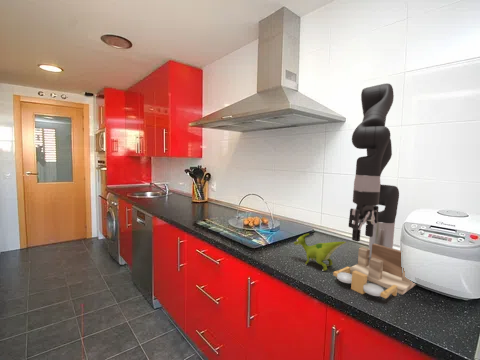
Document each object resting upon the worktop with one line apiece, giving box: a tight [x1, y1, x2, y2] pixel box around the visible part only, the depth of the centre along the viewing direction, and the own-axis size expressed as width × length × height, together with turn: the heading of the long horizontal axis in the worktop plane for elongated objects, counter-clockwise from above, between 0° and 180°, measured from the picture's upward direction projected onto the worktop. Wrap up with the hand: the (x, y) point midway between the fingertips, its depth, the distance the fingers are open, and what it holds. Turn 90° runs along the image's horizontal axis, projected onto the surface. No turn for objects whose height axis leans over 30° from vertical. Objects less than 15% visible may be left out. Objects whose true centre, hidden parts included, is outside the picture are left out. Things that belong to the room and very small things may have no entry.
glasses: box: [332, 266, 398, 299], centre depth 82 cm, size 11×18×6 cm, turn 37°
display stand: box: [349, 244, 417, 295], centre depth 90 cm, size 12×19×10 cm, turn 37°
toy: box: [293, 233, 347, 272], centre depth 99 cm, size 8×21×15 cm, turn 51°
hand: (362, 238), depth 80 cm, fingers open, 8 cm apart
